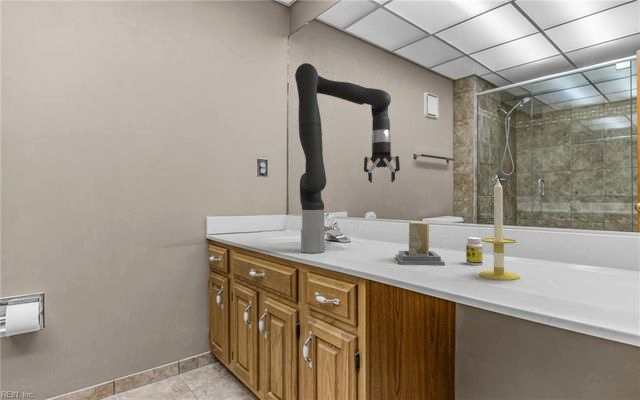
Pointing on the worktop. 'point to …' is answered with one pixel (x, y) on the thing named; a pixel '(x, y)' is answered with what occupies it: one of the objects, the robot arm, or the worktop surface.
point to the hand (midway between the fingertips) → (381, 182)
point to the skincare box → (418, 239)
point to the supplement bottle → (474, 251)
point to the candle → (498, 240)
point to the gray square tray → (419, 259)
